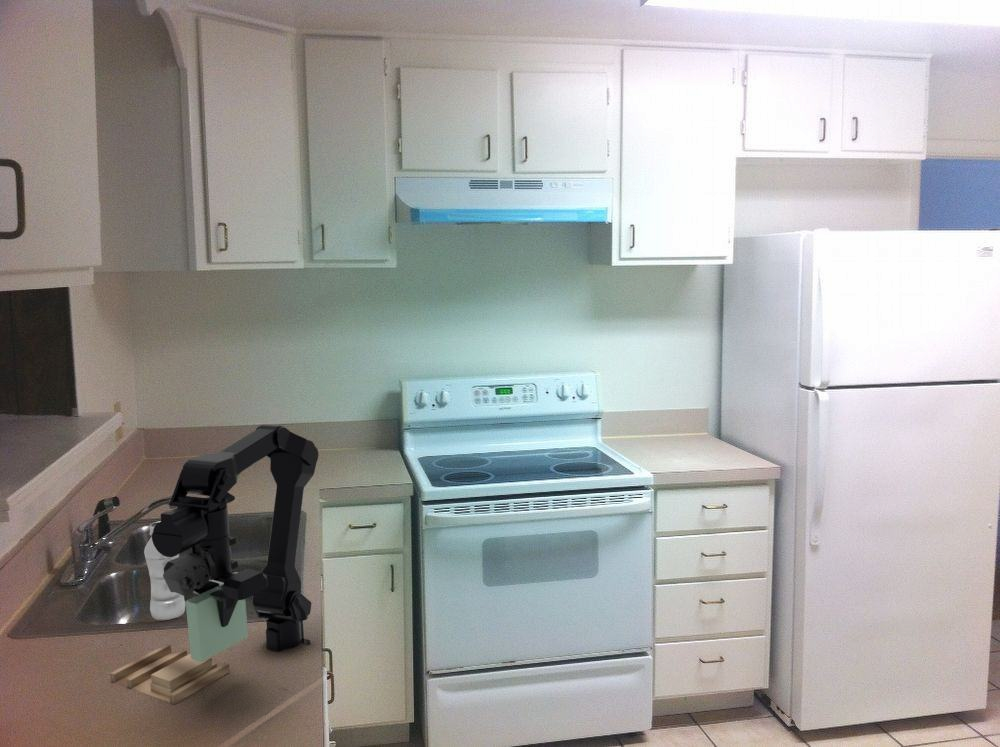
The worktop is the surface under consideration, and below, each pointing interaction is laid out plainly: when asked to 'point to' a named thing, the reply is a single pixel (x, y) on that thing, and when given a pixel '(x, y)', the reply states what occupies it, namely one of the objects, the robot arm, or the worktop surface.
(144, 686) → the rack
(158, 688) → the block
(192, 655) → the pale green square slab
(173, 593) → the plastic bottle
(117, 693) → the worktop surface
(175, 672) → the offcut top
